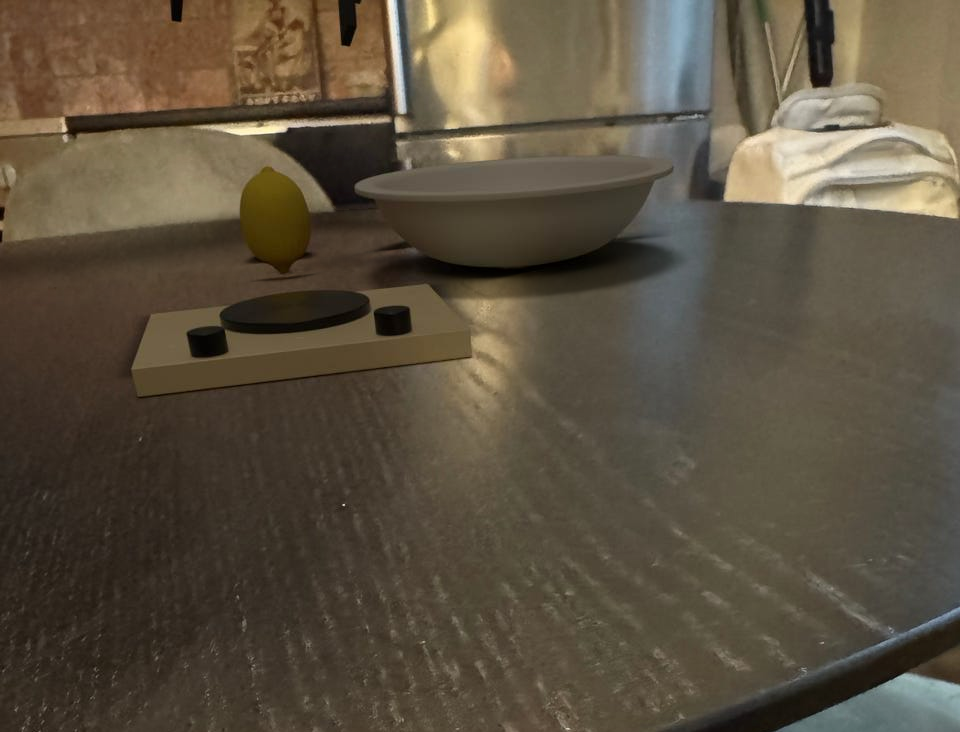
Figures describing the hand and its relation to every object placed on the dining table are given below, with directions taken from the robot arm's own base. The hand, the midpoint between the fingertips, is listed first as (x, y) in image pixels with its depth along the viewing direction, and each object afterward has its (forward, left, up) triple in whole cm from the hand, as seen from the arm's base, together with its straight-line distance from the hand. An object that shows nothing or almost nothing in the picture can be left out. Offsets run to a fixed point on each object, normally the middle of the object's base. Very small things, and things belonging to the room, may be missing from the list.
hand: (265, 24), depth 79 cm
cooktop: (+34, -2, -18) cm, 38 cm away
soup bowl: (+15, +16, -18) cm, 28 cm away
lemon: (+8, -2, -18) cm, 20 cm away
